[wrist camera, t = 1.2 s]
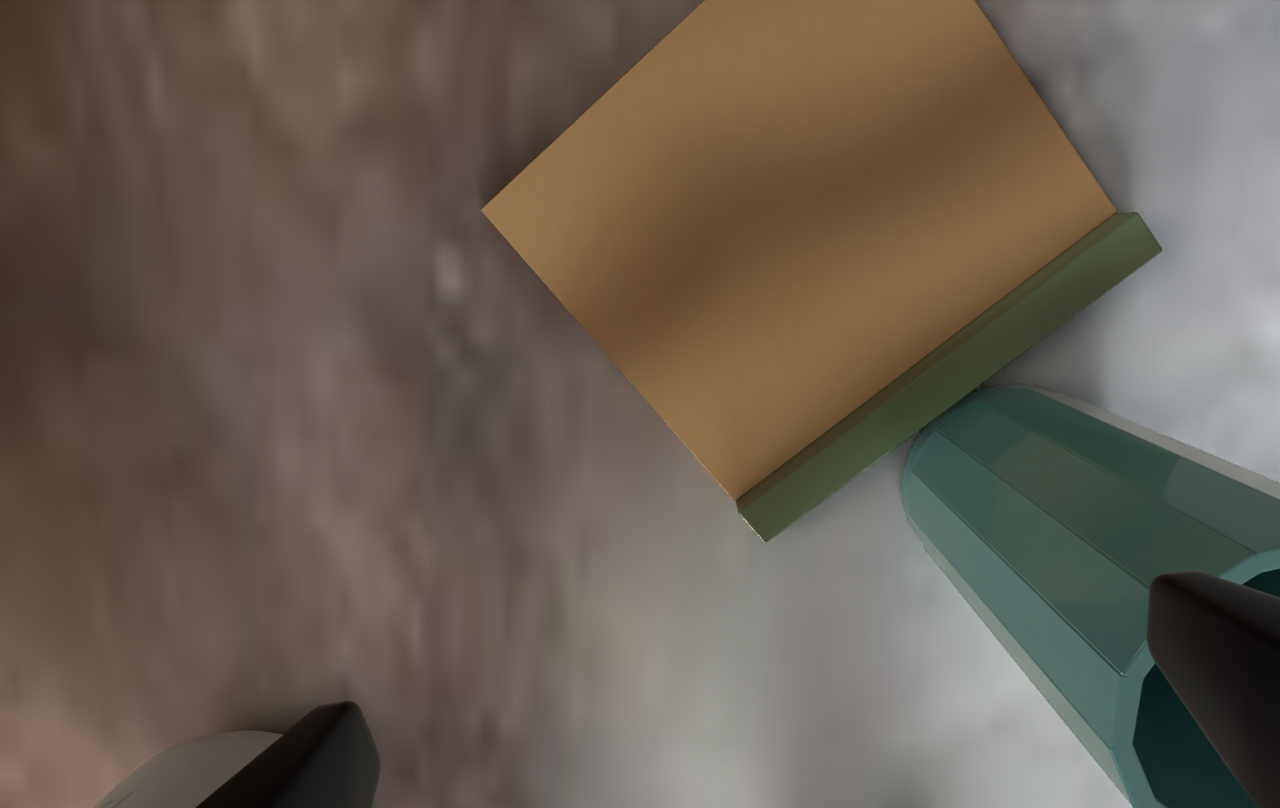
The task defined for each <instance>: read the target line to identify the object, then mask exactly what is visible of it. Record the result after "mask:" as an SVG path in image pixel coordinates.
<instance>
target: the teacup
mask: <svg viewBox="0 0 1280 808" xmlns="http://www.w3.org/2000/svg"><path fill="white" fill-rule="evenodd" d="M282 735H283V734H278V733H270V732H262V731H232V732H223V733H217V734H212V735H208V736H204V737H200V738H196V739H193V740H190V741H188V742H185V743H182V744H180V745H178V746H176V747H173V748H171V749H169V750H167V751H165V752H163V753H161V754H159V755H158V756H156V757H154V758H153V759H151V760H150V761H148V762H147V763H145V764H144V765H142V766H141V767H139V768H138V769H137V770H135V771H134V772H133V773H131V774H130V775H129V776H128V777H126V778H125V779H124V780H123V781H122V782H121V783H119V784H118V785H117V786H116V787H115V788H114V789H113V790H112V791H111V792H110V793H109V794H107V795H106V796H105V797H104V798H103V799H102V800H101V801H100V802H99V803H98V804H97V805H96V806H95V807H94V808H195V807H196V806H198V805H199V804H200V803H201V802H202V801H204V800H205V799H206V798H207V797H208V796H210V795H211V794H212V793H213V792H214V791H216V790H217V789H218V788H219V787H220V786H222V785H223V784H224V783H225V782H227V781H228V780H229V779H230V778H231V777H233V776H234V775H235V774H236V773H237V772H239V771H240V770H241V769H242V768H243V767H245V766H246V765H247V764H248V763H249V762H251V761H252V760H253V759H254V758H255V757H257V756H258V755H259V754H260V753H261V752H263V751H264V750H265V749H266V748H268V747H269V746H270V745H271V744H272V743H274V742H275V741H276V740H277V739H278V738H280V737H281V736H282ZM372 808H384V806H383V804H382V802H381V801H380V799H379V797H378V796H377V794H376V793H375V797H374V802H373V806H372Z"/></svg>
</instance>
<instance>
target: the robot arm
mask: <svg viewBox="0 0 1280 808" xmlns="http://www.w3.org/2000/svg"><path fill="white" fill-rule="evenodd" d="M1146 641H1147V646H1148V649H1149V652H1150V654H1151V656H1152V658H1153V660H1154V662H1155V663H1156V665H1157V666H1158V668H1159V669H1160V670H1161V672H1162V673H1163V675H1164V676H1165V678H1166V679H1167V681H1168V682H1169V683H1170V685H1171V686H1172V688H1173V689H1174V691H1175V692H1176V694H1177V695H1178V696H1179V698H1180V699H1181V701H1182V702H1183V704H1184V705H1185V707H1186V708H1187V709H1188V711H1189V712H1190V714H1191V715H1192V717H1193V718H1194V720H1195V721H1196V722H1197V724H1198V725H1199V727H1200V728H1201V730H1202V731H1203V733H1204V734H1205V736H1206V737H1207V738H1208V740H1209V741H1210V743H1211V744H1212V746H1213V747H1214V749H1215V750H1216V751H1217V753H1218V754H1219V756H1220V757H1221V759H1222V760H1223V762H1224V763H1225V764H1226V766H1227V767H1228V769H1229V770H1230V772H1231V773H1232V774H1233V776H1234V777H1235V779H1236V780H1237V781H1238V783H1239V784H1240V785H1241V787H1242V788H1243V789H1244V791H1245V792H1246V794H1247V795H1248V796H1249V797H1250V799H1251V800H1252V801H1253V802H1254V804H1255V805H1256V806H1257V807H1258V808H1280V598H1279V597H1276V596H1273V595H1270V594H1267V593H1264V592H1261V591H1258V590H1255V589H1253V588H1250V587H1247V586H1244V585H1241V584H1238V583H1235V582H1232V581H1229V580H1226V579H1223V578H1220V577H1217V576H1214V575H1211V574H1208V573H1205V572H1201V571H1196V570H1188V571H1182V572H1175V573H1169V574H1162V575H1159V576H1157V577H1155V578H1154V579H1153V580H1152V582H1151V584H1150V588H1149V600H1148V614H1147V628H1146ZM379 771H380V760H379V755H378V751H377V748H376V746H375V744H374V741H373V739H372V736H371V734H370V731H369V729H368V727H367V724H366V722H365V719H364V717H363V714H362V712H361V710H360V708H359V706H358V705H357V704H356V703H354V702H351V701H344V702H338V703H331V704H325V705H321V706H318V707H316V708H315V709H313V710H312V711H311V712H310V713H308V714H307V715H306V716H305V717H304V718H302V719H301V720H300V721H299V722H298V723H296V724H295V725H294V726H293V727H292V728H290V729H289V730H288V731H287V732H286V733H284V734H283V735H282V736H281V737H280V738H278V739H277V740H276V741H275V742H274V743H272V744H271V745H270V746H269V747H268V748H266V749H265V750H264V751H263V752H261V753H260V754H259V755H258V756H257V757H255V758H254V759H253V760H252V761H251V762H249V763H248V764H247V765H246V766H245V767H243V768H242V769H241V770H240V771H239V772H237V773H236V774H235V775H234V776H233V777H231V778H230V779H229V780H228V781H227V782H225V783H224V784H223V785H222V786H220V787H219V788H218V789H217V790H216V791H214V792H213V793H212V794H211V795H210V796H208V797H207V798H206V799H205V800H204V801H202V802H201V803H200V804H199V805H198V806H196V807H195V808H372V806H373V802H374V797H375V792H376V788H377V783H378V778H379Z"/></svg>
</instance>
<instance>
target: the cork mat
mask: <svg viewBox="0 0 1280 808" xmlns="http://www.w3.org/2000/svg"><path fill="white" fill-rule="evenodd" d="M481 211H482V212H483V213H484V214H485V215H486V217H487V218H488V219H489V220H490V221H491V222H492V223H493V225H494V226H495V227H496V228H497V229H498V230H499V232H500V233H501V234H502V235H503V236H504V237H505V238H506V240H507V241H508V242H509V243H510V244H511V245H512V246H513V248H514V249H515V250H516V251H517V252H518V253H519V255H520V256H521V257H522V258H523V259H524V260H525V261H526V263H527V264H528V265H529V266H530V267H531V268H532V269H533V271H534V272H535V273H536V274H537V275H538V276H539V278H540V279H541V280H542V281H543V282H544V283H545V284H546V286H547V287H548V288H549V289H550V290H551V291H552V292H553V294H554V295H555V296H556V297H557V298H558V299H559V301H560V302H561V303H562V304H563V305H564V306H565V307H566V309H567V310H568V311H569V312H570V313H571V314H572V315H573V317H574V318H575V319H576V320H577V321H578V322H579V324H580V325H581V326H582V327H583V328H584V329H585V330H586V332H587V333H588V334H589V335H590V336H591V337H592V338H593V340H594V341H595V342H596V343H597V344H598V345H599V347H600V348H601V349H602V350H603V351H604V352H605V353H606V355H607V356H608V357H609V358H610V359H611V360H612V361H613V363H614V364H615V365H616V366H617V367H618V368H619V370H620V371H621V372H622V373H623V374H624V375H625V376H626V378H627V379H628V380H629V381H630V382H631V383H632V384H633V386H634V387H635V388H636V389H637V390H638V391H639V393H640V394H641V395H642V396H643V397H644V398H645V399H646V401H647V402H648V403H649V404H650V405H651V406H652V407H653V409H654V410H655V411H656V412H657V413H658V414H659V416H660V417H661V418H662V419H663V420H664V421H665V422H666V424H667V425H668V426H669V427H670V428H671V429H672V430H673V432H674V433H675V434H676V435H677V436H678V437H679V438H680V440H681V441H682V442H683V443H684V444H685V445H686V447H687V448H688V449H689V450H690V451H691V452H692V453H693V455H694V456H695V457H696V458H697V459H698V460H699V461H700V463H701V464H702V465H703V466H704V467H705V468H706V470H707V471H708V472H709V473H710V474H711V475H712V476H713V478H714V479H715V480H716V481H717V482H718V483H719V484H720V486H721V487H722V488H723V489H724V490H725V491H726V493H727V494H728V495H729V496H730V497H731V498H732V499H733V501H735V502H736V505H737V509H738V513H739V515H740V516H741V517H742V518H743V519H744V521H745V522H746V523H747V524H748V525H749V526H750V527H751V529H752V530H753V531H754V532H755V533H756V534H757V535H758V537H759V538H760V539H761V540H762V541H763V542H764V543H767V542H768V541H769V540H771V539H772V538H774V537H775V536H776V535H778V534H779V533H780V532H782V531H783V530H784V529H786V528H787V527H788V526H790V525H791V524H793V523H794V522H795V521H797V520H798V519H799V518H801V517H802V516H803V515H805V514H806V513H807V512H809V511H810V510H812V509H813V508H814V507H816V506H817V505H818V504H820V503H821V502H822V501H824V500H825V499H826V498H828V497H829V496H831V495H832V494H833V493H835V492H836V491H837V490H839V489H840V488H841V487H843V486H844V485H845V484H847V483H848V482H850V481H851V480H852V479H854V478H855V477H856V476H858V475H859V474H860V473H862V472H863V471H864V470H866V469H867V468H869V467H870V466H871V465H873V464H874V463H875V462H877V461H878V460H879V459H881V458H882V457H883V456H885V455H886V454H888V453H889V452H890V451H892V450H893V449H894V448H896V447H897V446H898V445H900V444H901V443H902V442H904V441H905V440H907V439H908V438H909V437H911V436H912V435H913V434H915V433H916V432H917V431H919V430H920V429H921V428H923V427H924V426H926V425H927V424H928V423H930V422H931V421H932V420H934V419H935V418H936V417H938V416H939V415H940V414H942V413H943V412H945V411H946V410H947V409H949V408H950V407H951V406H953V405H954V404H955V403H957V402H958V401H959V400H961V399H962V398H964V397H965V396H966V395H968V394H969V393H970V392H972V391H973V390H974V389H976V388H977V387H978V386H980V385H981V384H983V383H984V382H985V381H987V380H988V379H989V378H991V377H992V376H993V375H995V374H996V373H997V372H999V371H1000V370H1002V369H1003V368H1004V367H1006V366H1007V365H1008V364H1010V363H1011V362H1012V361H1014V360H1015V359H1016V358H1018V357H1019V356H1021V355H1022V354H1023V353H1025V352H1026V351H1027V350H1029V349H1030V348H1031V347H1033V346H1034V345H1035V344H1037V343H1038V342H1040V341H1041V340H1042V339H1044V338H1045V337H1046V336H1048V335H1049V334H1050V333H1052V332H1053V331H1054V330H1056V329H1057V328H1059V327H1060V326H1061V325H1063V324H1064V323H1065V322H1067V321H1068V320H1069V319H1071V318H1072V317H1073V316H1075V315H1076V314H1078V313H1079V312H1080V311H1082V310H1083V309H1084V308H1086V307H1087V306H1088V305H1090V304H1091V303H1092V302H1094V301H1095V300H1097V299H1098V298H1099V297H1101V296H1102V295H1103V294H1105V293H1106V292H1107V291H1109V290H1110V289H1111V288H1113V287H1114V286H1116V285H1117V284H1118V283H1120V282H1121V281H1122V280H1124V279H1125V278H1126V277H1128V276H1129V275H1130V274H1132V273H1133V272H1135V271H1136V270H1137V269H1139V268H1140V267H1141V266H1143V265H1144V264H1145V263H1147V262H1148V261H1149V260H1151V259H1152V258H1154V257H1155V256H1156V255H1158V254H1159V253H1160V252H1161V251H1162V248H1161V246H1160V245H1159V243H1158V242H1157V240H1156V239H1155V237H1154V236H1153V234H1152V233H1151V231H1150V230H1149V228H1148V227H1147V225H1146V224H1145V222H1144V221H1143V219H1142V218H1141V216H1140V215H1139V214H1138V213H1137V212H1126V213H1116V212H1117V211H1116V209H1115V208H1114V206H1113V205H1112V203H1111V202H1110V200H1109V199H1108V197H1107V196H1106V194H1105V193H1104V191H1103V190H1102V188H1101V187H1100V185H1099V184H1098V183H1097V181H1096V180H1095V178H1094V177H1093V175H1092V174H1091V172H1090V171H1089V169H1088V168H1087V166H1086V165H1085V163H1084V162H1083V160H1082V159H1081V157H1080V156H1079V154H1078V153H1077V151H1076V150H1075V148H1074V147H1073V145H1072V144H1071V142H1070V141H1069V139H1068V138H1067V136H1066V135H1065V134H1064V132H1063V131H1062V129H1061V128H1060V126H1059V125H1058V123H1057V122H1056V120H1055V119H1054V117H1053V116H1052V114H1051V113H1050V111H1049V110H1048V108H1047V107H1046V105H1045V104H1044V102H1043V101H1042V99H1041V98H1040V96H1039V95H1038V93H1037V92H1036V90H1035V89H1034V88H1033V86H1032V85H1031V83H1030V82H1029V80H1028V79H1027V77H1026V76H1025V74H1024V73H1023V71H1022V70H1021V68H1020V67H1019V65H1018V64H1017V62H1016V61H1015V59H1014V58H1013V56H1012V55H1011V53H1010V52H1009V50H1008V49H1007V47H1006V46H1005V44H1004V43H1003V41H1002V40H1001V39H1000V37H999V36H998V34H997V33H996V31H995V30H994V28H993V27H992V25H991V24H990V22H989V21H988V19H987V18H986V16H985V15H984V13H983V12H982V10H981V9H980V7H979V6H978V4H977V3H976V1H975V0H704V1H703V2H702V3H701V4H700V5H699V6H698V7H697V8H695V9H694V10H693V11H692V12H691V13H690V14H689V15H688V16H687V17H686V18H685V19H684V20H683V21H682V22H681V23H679V24H678V25H677V26H676V27H675V28H674V29H673V30H672V31H671V32H670V33H669V34H668V35H667V36H666V37H665V38H663V39H662V40H661V41H660V42H659V43H658V44H657V45H656V46H655V47H654V48H653V49H652V50H651V51H650V52H649V53H647V54H646V55H645V56H644V57H643V58H642V59H641V60H640V61H639V62H638V63H637V64H636V65H635V66H634V67H633V68H631V69H630V70H629V71H628V72H627V73H626V74H625V75H624V76H623V77H622V78H621V79H620V80H619V81H618V82H617V83H615V84H614V85H613V86H612V87H611V88H610V89H609V90H608V91H607V92H606V93H605V94H604V95H603V96H602V97H601V98H599V99H598V100H597V101H596V102H595V103H594V104H593V105H592V106H591V107H590V108H589V109H588V110H587V111H586V112H585V113H583V114H582V115H581V116H580V117H579V118H578V119H577V120H576V121H575V122H574V123H573V124H572V125H571V126H570V127H569V128H567V129H566V130H565V131H564V132H563V133H562V134H561V135H560V136H559V137H558V138H557V139H556V140H555V141H554V142H553V143H551V144H550V145H549V146H548V147H547V148H546V149H545V150H544V151H543V152H542V153H541V154H540V155H539V156H538V157H537V158H535V159H534V160H533V161H532V162H531V163H530V164H529V165H528V166H527V167H526V168H525V169H524V170H523V171H522V172H521V173H519V174H518V175H517V176H516V177H515V178H514V179H513V180H512V181H511V182H510V183H509V184H508V185H507V186H506V187H505V188H503V189H502V190H501V191H500V192H499V193H498V194H497V195H496V196H495V197H494V198H493V199H492V200H491V201H490V202H489V203H487V204H486V205H485V206H484V207H483V208H482V209H481Z"/></svg>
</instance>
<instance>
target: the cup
mask: <svg viewBox="0 0 1280 808" xmlns="http://www.w3.org/2000/svg"><path fill="white" fill-rule="evenodd" d="M902 500H903V506H904V511H905V514H906V517H907V520H908V522H909V524H910V526H911V528H912V530H913V531H914V533H915V534H916V536H917V537H918V539H919V540H920V541H921V542H922V545H923V547H924V549H925V551H926V552H927V553H928V555H929V556H930V557H931V558H932V560H933V561H934V562H935V563H936V564H937V566H938V567H939V568H940V569H941V571H942V572H943V573H944V574H945V576H946V577H947V578H948V579H949V581H950V582H951V583H952V584H953V585H954V587H955V588H956V589H957V590H958V592H959V593H960V594H961V595H962V597H963V598H964V599H965V600H966V602H967V603H968V604H969V605H970V606H971V608H972V609H973V610H974V611H975V613H976V614H977V615H978V616H979V618H980V619H981V620H982V621H983V622H984V624H985V625H986V626H987V627H988V629H989V630H990V631H991V632H992V634H993V635H994V636H995V637H996V639H997V640H998V641H999V642H1000V643H1001V645H1002V646H1003V647H1004V648H1005V650H1006V651H1007V652H1008V653H1009V655H1010V656H1011V657H1012V658H1013V660H1014V661H1015V662H1016V663H1017V664H1018V666H1019V667H1020V668H1021V669H1022V671H1023V672H1024V673H1025V674H1026V676H1027V677H1028V678H1029V679H1030V681H1031V682H1032V683H1033V684H1034V685H1035V687H1036V688H1037V689H1038V690H1039V692H1040V693H1041V694H1042V695H1043V697H1044V698H1045V699H1046V700H1047V702H1048V703H1049V704H1050V705H1051V706H1052V708H1053V709H1054V710H1055V711H1056V713H1057V714H1058V715H1059V716H1060V718H1061V719H1062V720H1063V721H1064V723H1065V724H1066V725H1067V726H1068V727H1069V729H1070V730H1071V731H1072V732H1073V734H1074V735H1075V736H1076V737H1077V739H1078V740H1079V741H1080V742H1081V743H1082V745H1083V746H1084V747H1085V748H1086V750H1087V751H1088V752H1089V753H1090V755H1091V756H1092V757H1093V758H1094V760H1095V761H1096V762H1097V763H1098V764H1099V766H1100V767H1101V768H1102V769H1103V771H1104V772H1105V773H1106V774H1107V776H1108V777H1109V778H1110V779H1111V781H1112V782H1113V783H1114V784H1115V785H1116V787H1117V788H1118V789H1119V790H1120V792H1121V793H1122V794H1123V795H1124V797H1125V798H1126V799H1127V800H1128V802H1129V803H1130V804H1131V805H1132V806H1133V808H1258V807H1257V806H1256V805H1255V804H1254V802H1253V801H1252V800H1251V799H1250V797H1249V796H1248V795H1247V794H1246V792H1245V791H1244V789H1243V788H1242V787H1241V785H1240V784H1239V783H1238V781H1237V780H1236V779H1235V777H1234V776H1233V774H1232V773H1231V772H1230V770H1229V769H1228V767H1227V766H1226V764H1225V763H1224V762H1223V760H1222V759H1221V757H1220V756H1219V754H1218V753H1217V751H1216V750H1215V749H1214V747H1213V746H1212V744H1211V743H1210V741H1209V740H1208V738H1207V737H1206V736H1205V734H1204V733H1203V731H1202V730H1201V728H1200V727H1199V725H1198V724H1197V722H1196V721H1195V720H1194V718H1193V717H1192V715H1191V714H1190V712H1189V711H1188V709H1187V708H1186V707H1185V705H1184V704H1183V702H1182V701H1181V699H1180V698H1179V696H1178V695H1177V694H1176V692H1175V691H1174V689H1173V688H1172V686H1171V685H1170V683H1169V682H1168V681H1167V679H1166V678H1165V676H1164V675H1163V673H1162V672H1161V670H1160V669H1159V668H1158V666H1157V665H1156V663H1155V662H1154V660H1153V658H1152V656H1151V654H1150V652H1149V649H1148V646H1147V641H1146V628H1147V614H1148V600H1149V588H1150V584H1151V582H1152V580H1153V579H1154V578H1155V577H1157V576H1159V575H1162V574H1169V573H1175V572H1182V571H1188V570H1196V571H1201V572H1205V573H1208V574H1211V575H1214V576H1217V577H1220V578H1223V579H1226V580H1229V581H1232V582H1235V583H1238V584H1241V585H1244V586H1247V587H1250V588H1253V589H1255V590H1258V591H1261V592H1264V593H1267V594H1270V595H1273V596H1276V597H1279V598H1280V483H1279V482H1276V481H1274V480H1271V479H1269V478H1267V477H1264V476H1262V475H1259V474H1257V473H1255V472H1252V471H1250V470H1247V469H1245V468H1243V467H1240V466H1238V465H1235V464H1233V463H1231V462H1228V461H1226V460H1223V459H1221V458H1219V457H1216V456H1214V455H1211V454H1209V453H1207V452H1204V451H1202V450H1199V449H1197V448H1195V447H1192V446H1190V445H1187V444H1185V443H1182V442H1180V441H1178V440H1175V439H1173V438H1170V437H1168V436H1166V435H1163V434H1161V433H1158V432H1156V431H1154V430H1151V429H1149V428H1146V427H1144V426H1142V425H1139V424H1137V423H1134V422H1132V421H1130V420H1127V419H1125V418H1122V417H1120V416H1118V415H1115V414H1113V413H1110V412H1108V411H1106V410H1103V409H1101V408H1098V407H1096V406H1094V405H1091V404H1089V403H1086V402H1084V401H1082V400H1079V399H1077V398H1074V397H1072V396H1068V395H1063V394H1058V393H1056V392H1054V391H1051V390H1048V389H1045V388H1041V387H1037V386H1031V385H1020V384H1009V385H999V386H994V387H989V388H985V389H982V390H979V391H976V392H973V393H970V394H968V395H966V396H965V397H964V398H962V399H961V400H959V401H958V402H957V403H955V404H954V405H953V406H951V407H950V408H949V409H947V410H946V411H945V412H943V413H942V414H940V415H939V416H938V417H936V418H935V419H934V420H932V421H931V422H930V423H928V424H927V425H926V426H925V428H924V429H923V430H922V432H921V433H920V434H919V436H918V437H917V439H916V441H915V442H914V444H913V446H912V448H911V450H910V452H909V455H908V457H907V460H906V463H905V467H904V471H903V478H902Z"/></svg>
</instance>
